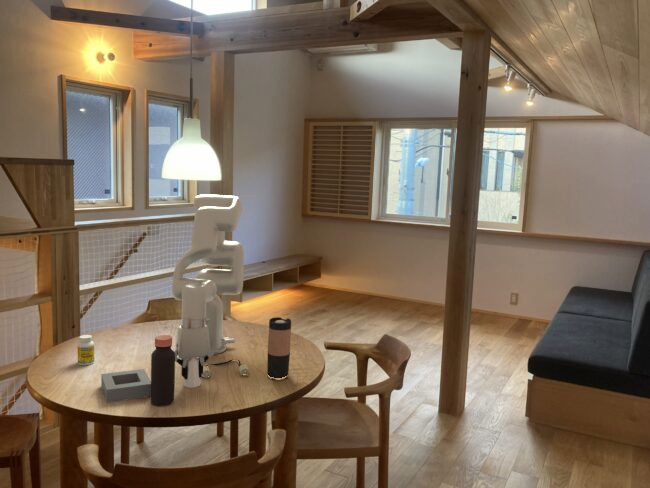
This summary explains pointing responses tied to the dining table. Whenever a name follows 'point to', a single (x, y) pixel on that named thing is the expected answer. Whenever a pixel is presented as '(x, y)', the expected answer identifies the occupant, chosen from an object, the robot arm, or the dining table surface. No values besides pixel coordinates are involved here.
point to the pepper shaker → (192, 373)
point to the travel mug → (278, 347)
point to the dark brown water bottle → (162, 371)
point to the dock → (125, 385)
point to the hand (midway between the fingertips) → (192, 376)
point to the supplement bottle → (85, 350)
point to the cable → (242, 368)
